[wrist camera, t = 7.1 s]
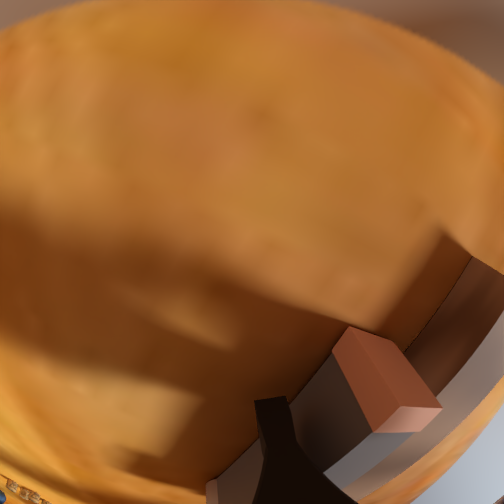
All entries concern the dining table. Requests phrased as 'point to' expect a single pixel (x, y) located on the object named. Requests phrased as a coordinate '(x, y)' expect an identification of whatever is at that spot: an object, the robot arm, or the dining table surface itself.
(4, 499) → the grapes
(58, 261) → the dining table surface
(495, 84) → the dining table surface
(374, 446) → the stool leg
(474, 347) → the rail
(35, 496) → the dice set
